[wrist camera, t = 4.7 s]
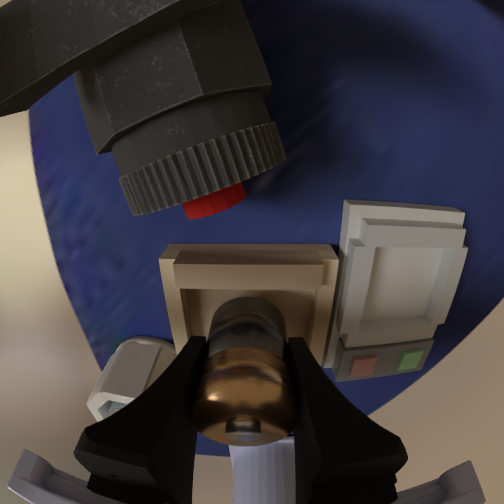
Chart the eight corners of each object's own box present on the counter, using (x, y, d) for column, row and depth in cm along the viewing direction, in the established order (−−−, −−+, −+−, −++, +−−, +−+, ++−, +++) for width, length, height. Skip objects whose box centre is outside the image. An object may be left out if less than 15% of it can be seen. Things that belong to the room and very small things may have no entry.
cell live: (282, 354, 14) (289, 454, 9) (213, 352, 14) (196, 451, 9) (288, 297, 13) (305, 404, 7) (209, 294, 13) (181, 399, 7)
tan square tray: (314, 354, 17) (319, 381, 15) (186, 353, 17) (179, 379, 15) (329, 244, 14) (341, 264, 12) (169, 243, 14) (155, 263, 12)
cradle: (415, 347, 17) (428, 370, 15) (321, 357, 17) (327, 384, 15) (455, 207, 13) (480, 221, 11) (343, 199, 13) (360, 213, 11)
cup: (203, 398, 19) (193, 454, 14) (129, 389, 19) (110, 439, 15) (192, 339, 17) (174, 403, 12) (106, 331, 17) (74, 384, 12)
